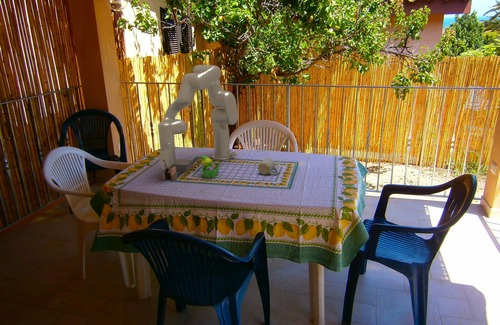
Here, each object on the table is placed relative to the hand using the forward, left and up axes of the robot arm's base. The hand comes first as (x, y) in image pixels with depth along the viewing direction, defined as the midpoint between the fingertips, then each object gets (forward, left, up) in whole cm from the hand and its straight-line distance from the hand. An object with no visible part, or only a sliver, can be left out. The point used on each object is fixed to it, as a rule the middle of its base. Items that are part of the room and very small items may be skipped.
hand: (170, 177), depth 204 cm
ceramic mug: (-51, -17, -1) cm, 54 cm away
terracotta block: (0, 0, -1) cm, 1 cm away
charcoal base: (0, -16, -1) cm, 16 cm away
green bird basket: (-20, -8, -1) cm, 22 cm away
